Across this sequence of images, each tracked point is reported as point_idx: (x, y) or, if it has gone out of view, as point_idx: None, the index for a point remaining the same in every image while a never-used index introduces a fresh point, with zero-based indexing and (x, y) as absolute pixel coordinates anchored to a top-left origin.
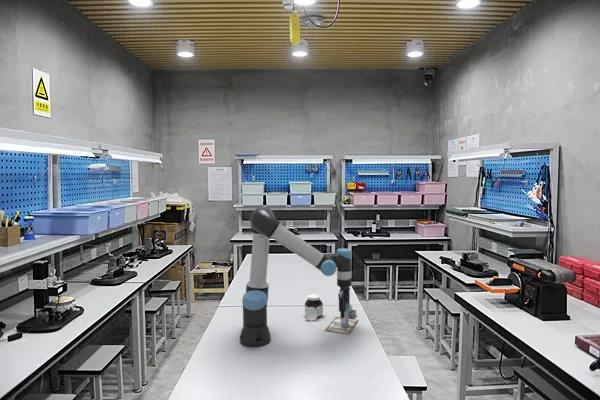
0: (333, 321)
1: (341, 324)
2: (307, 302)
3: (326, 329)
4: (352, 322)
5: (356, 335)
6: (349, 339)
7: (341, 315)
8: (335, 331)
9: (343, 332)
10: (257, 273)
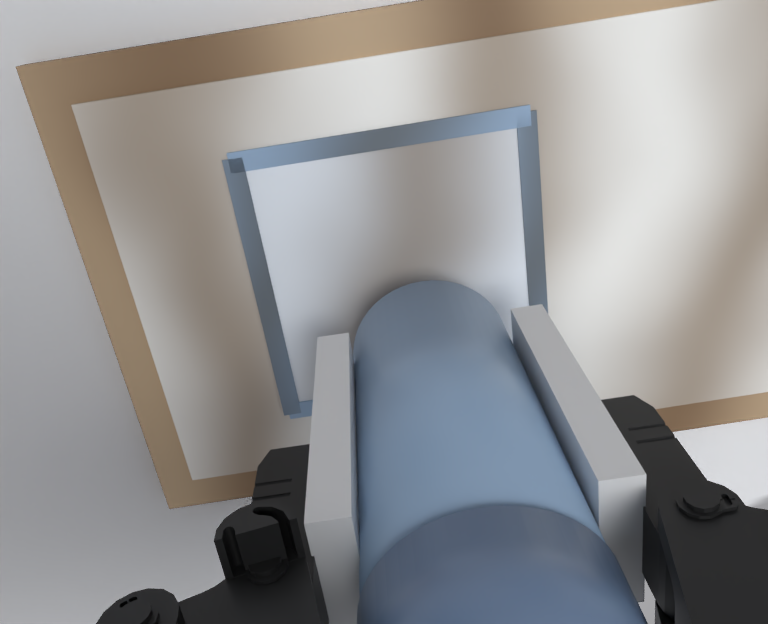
0: (574, 9)
1: (364, 317)
2: None
3: (71, 88)
4: (653, 375)
5: (214, 583)
6: (20, 565)
7: (257, 502)
8: (101, 295)
9: (156, 423)
10: None
